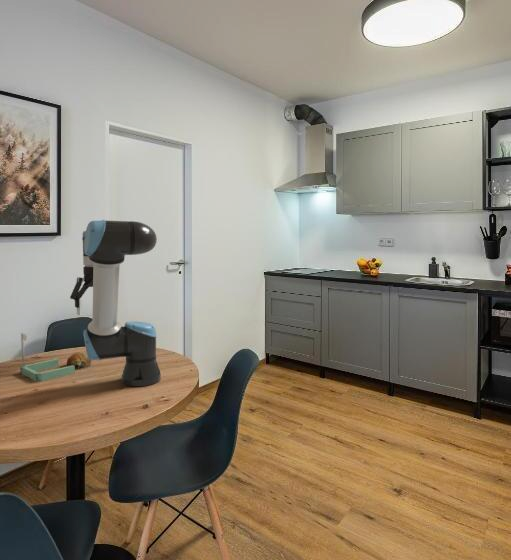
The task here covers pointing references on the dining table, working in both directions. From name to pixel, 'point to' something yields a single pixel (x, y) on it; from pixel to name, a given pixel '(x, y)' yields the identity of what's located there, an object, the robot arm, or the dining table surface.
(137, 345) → the robot arm
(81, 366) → the bread roll
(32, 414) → the dining table surface
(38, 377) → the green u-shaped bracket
